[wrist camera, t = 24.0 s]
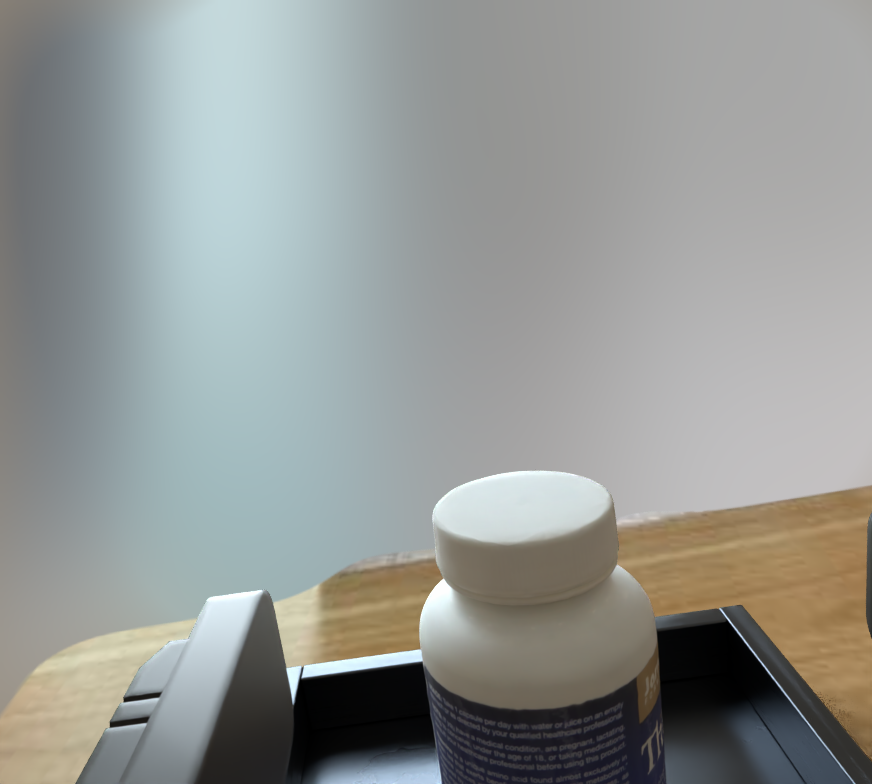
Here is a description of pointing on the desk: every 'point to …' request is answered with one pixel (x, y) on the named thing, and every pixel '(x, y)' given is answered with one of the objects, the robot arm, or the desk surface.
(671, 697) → the bin
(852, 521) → the desk surface
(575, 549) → the pill bottle
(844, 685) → the desk surface
